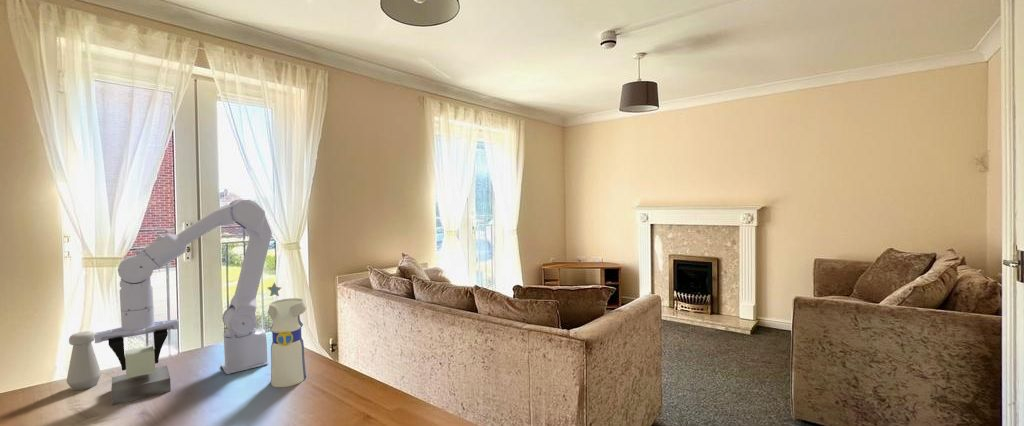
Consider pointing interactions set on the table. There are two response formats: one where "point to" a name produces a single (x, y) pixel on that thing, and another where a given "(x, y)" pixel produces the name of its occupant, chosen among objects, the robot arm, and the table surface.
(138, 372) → the sage block
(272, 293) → the cream belted dress
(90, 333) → the salt shaker
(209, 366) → the table surface
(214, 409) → the table surface
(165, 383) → the gray plinth
